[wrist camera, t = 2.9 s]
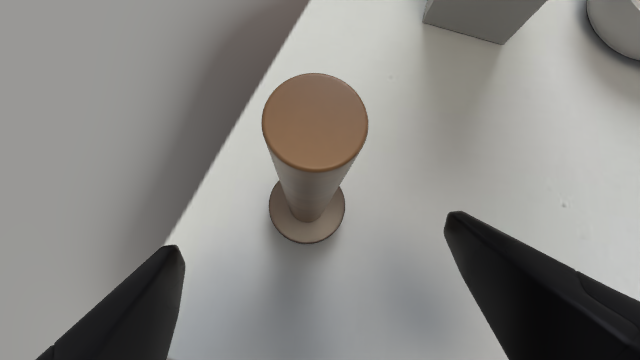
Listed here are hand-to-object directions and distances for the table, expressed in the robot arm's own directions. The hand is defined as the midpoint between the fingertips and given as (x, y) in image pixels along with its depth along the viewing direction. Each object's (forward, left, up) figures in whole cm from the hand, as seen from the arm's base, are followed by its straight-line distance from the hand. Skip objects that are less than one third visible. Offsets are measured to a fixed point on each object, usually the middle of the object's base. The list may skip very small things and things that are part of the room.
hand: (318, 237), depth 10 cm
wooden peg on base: (+2, +1, -10) cm, 10 cm away
